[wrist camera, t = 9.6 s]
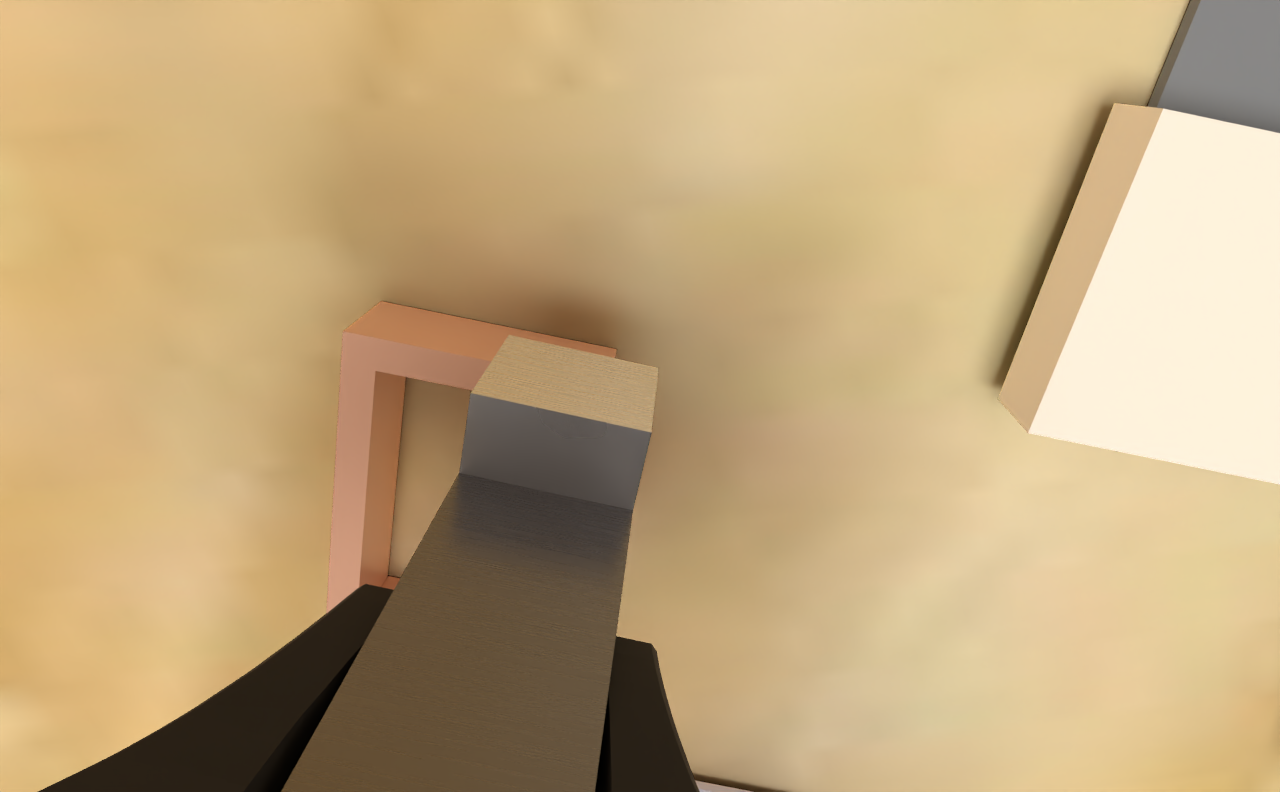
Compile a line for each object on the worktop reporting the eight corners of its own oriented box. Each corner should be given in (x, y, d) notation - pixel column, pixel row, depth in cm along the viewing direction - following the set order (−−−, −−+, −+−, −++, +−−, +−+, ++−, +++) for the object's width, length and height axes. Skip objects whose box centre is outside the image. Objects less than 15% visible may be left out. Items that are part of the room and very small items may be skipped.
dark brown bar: (658, 367, 16) (612, 780, 7) (600, 612, 19) (508, 1162, 9) (509, 334, 16) (263, 707, 7) (469, 584, 19) (247, 1111, 9)
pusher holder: (616, 348, 21) (607, 385, 19) (561, 632, 25) (548, 692, 22) (381, 301, 21) (343, 331, 19) (359, 592, 25) (324, 648, 22)
